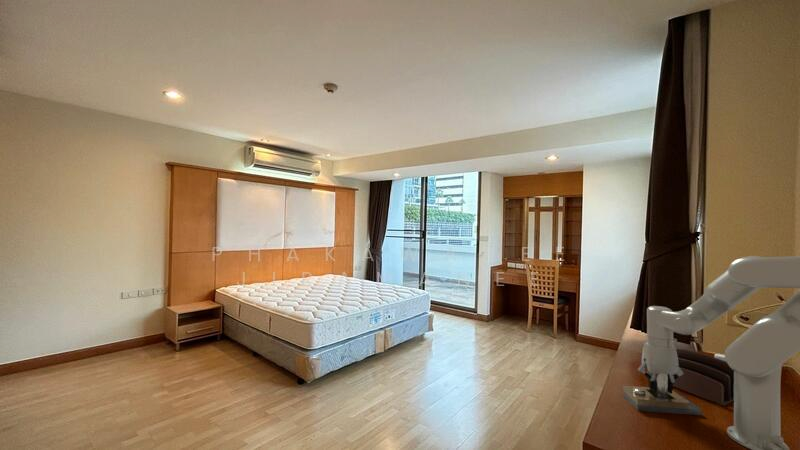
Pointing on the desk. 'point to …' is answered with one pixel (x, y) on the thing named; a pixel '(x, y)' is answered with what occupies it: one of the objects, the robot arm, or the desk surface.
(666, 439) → the desk surface
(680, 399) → the square hole plate
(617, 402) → the desk surface
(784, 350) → the robot arm
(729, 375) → the letter holder
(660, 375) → the steel pin
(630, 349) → the desk surface
